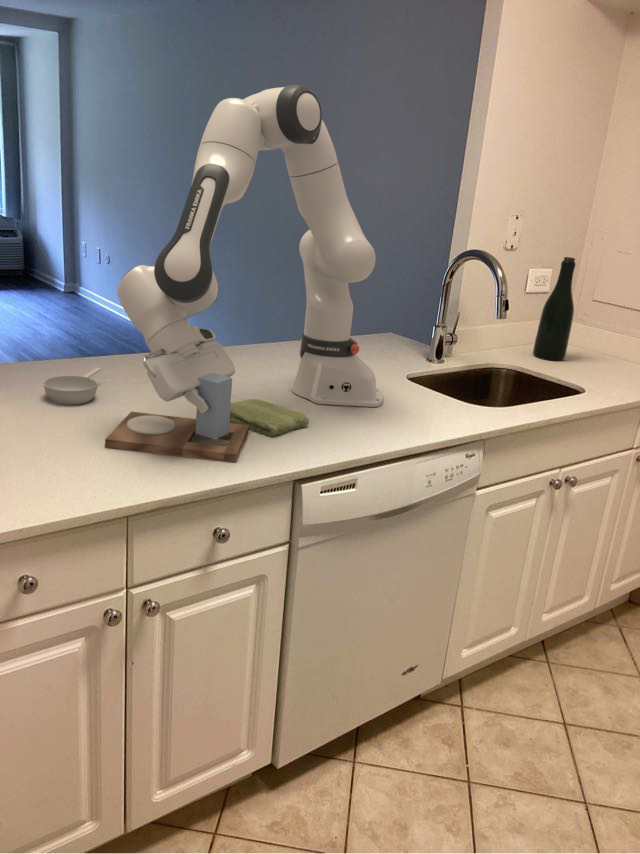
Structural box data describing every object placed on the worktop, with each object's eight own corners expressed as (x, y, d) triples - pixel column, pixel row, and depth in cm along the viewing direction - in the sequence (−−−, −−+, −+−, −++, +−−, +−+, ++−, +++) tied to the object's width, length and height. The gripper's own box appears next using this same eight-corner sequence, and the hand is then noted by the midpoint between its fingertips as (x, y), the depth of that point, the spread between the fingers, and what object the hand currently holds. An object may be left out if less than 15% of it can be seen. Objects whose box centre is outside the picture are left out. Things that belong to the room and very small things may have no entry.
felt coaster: (179, 421, 144) (179, 418, 144) (168, 437, 136) (168, 434, 136) (135, 416, 144) (135, 413, 144) (120, 431, 136) (120, 428, 136)
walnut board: (248, 432, 147) (249, 425, 146) (235, 462, 132) (236, 454, 131) (131, 418, 147) (131, 411, 147) (105, 447, 132) (105, 439, 132)
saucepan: (33, 401, 151) (33, 384, 150) (77, 380, 168) (77, 364, 167) (81, 410, 150) (81, 392, 148) (121, 387, 166) (121, 371, 165)
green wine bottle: (563, 363, 236) (586, 260, 225) (530, 357, 240) (551, 256, 228) (565, 357, 246) (587, 258, 235) (533, 351, 249) (554, 253, 238)
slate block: (209, 427, 141) (212, 372, 137) (228, 433, 139) (232, 377, 135) (195, 433, 137) (197, 377, 133) (215, 439, 135) (218, 383, 131)
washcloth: (251, 405, 165) (252, 392, 164) (311, 428, 155) (313, 413, 154) (209, 416, 155) (209, 402, 154) (270, 441, 145) (271, 426, 144)
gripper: (149, 346, 126) (193, 412, 125) (217, 328, 143) (256, 386, 143) (129, 365, 129) (171, 430, 129) (198, 346, 147) (235, 403, 146)
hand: (216, 407), depth 136 cm, fingers closed on slate block, 4 cm apart
